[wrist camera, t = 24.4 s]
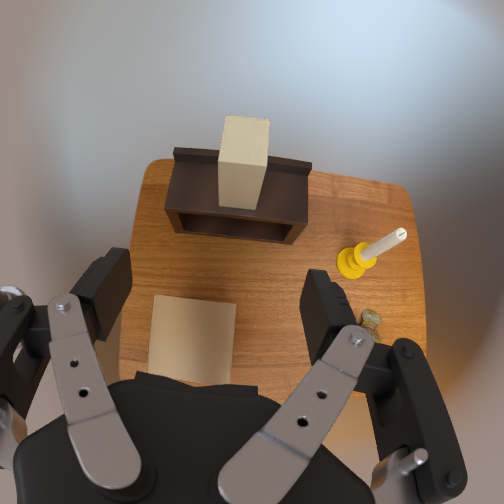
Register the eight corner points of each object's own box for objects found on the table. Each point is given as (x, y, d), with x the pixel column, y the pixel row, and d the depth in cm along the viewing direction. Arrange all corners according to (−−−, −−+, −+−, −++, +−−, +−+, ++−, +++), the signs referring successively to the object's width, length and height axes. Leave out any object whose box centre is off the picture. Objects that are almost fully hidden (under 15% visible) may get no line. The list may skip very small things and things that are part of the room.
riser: (172, 359, 37) (146, 374, 24) (177, 305, 39) (154, 294, 26) (228, 366, 38) (229, 386, 24) (232, 312, 40) (237, 303, 26)
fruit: (376, 307, 42) (388, 305, 38) (382, 357, 40) (394, 358, 36) (331, 316, 41) (340, 314, 37) (337, 368, 39) (346, 371, 35)
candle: (346, 285, 42) (402, 262, 28) (330, 257, 43) (378, 221, 29) (369, 269, 44) (427, 241, 29) (354, 242, 45) (405, 204, 30)
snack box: (218, 206, 34) (217, 161, 25) (224, 165, 36) (226, 114, 26) (255, 210, 35) (267, 166, 25) (258, 169, 36) (270, 119, 27)
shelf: (175, 232, 42) (160, 201, 32) (183, 186, 44) (174, 146, 34) (291, 244, 43) (312, 218, 33) (293, 198, 46) (312, 162, 35)
